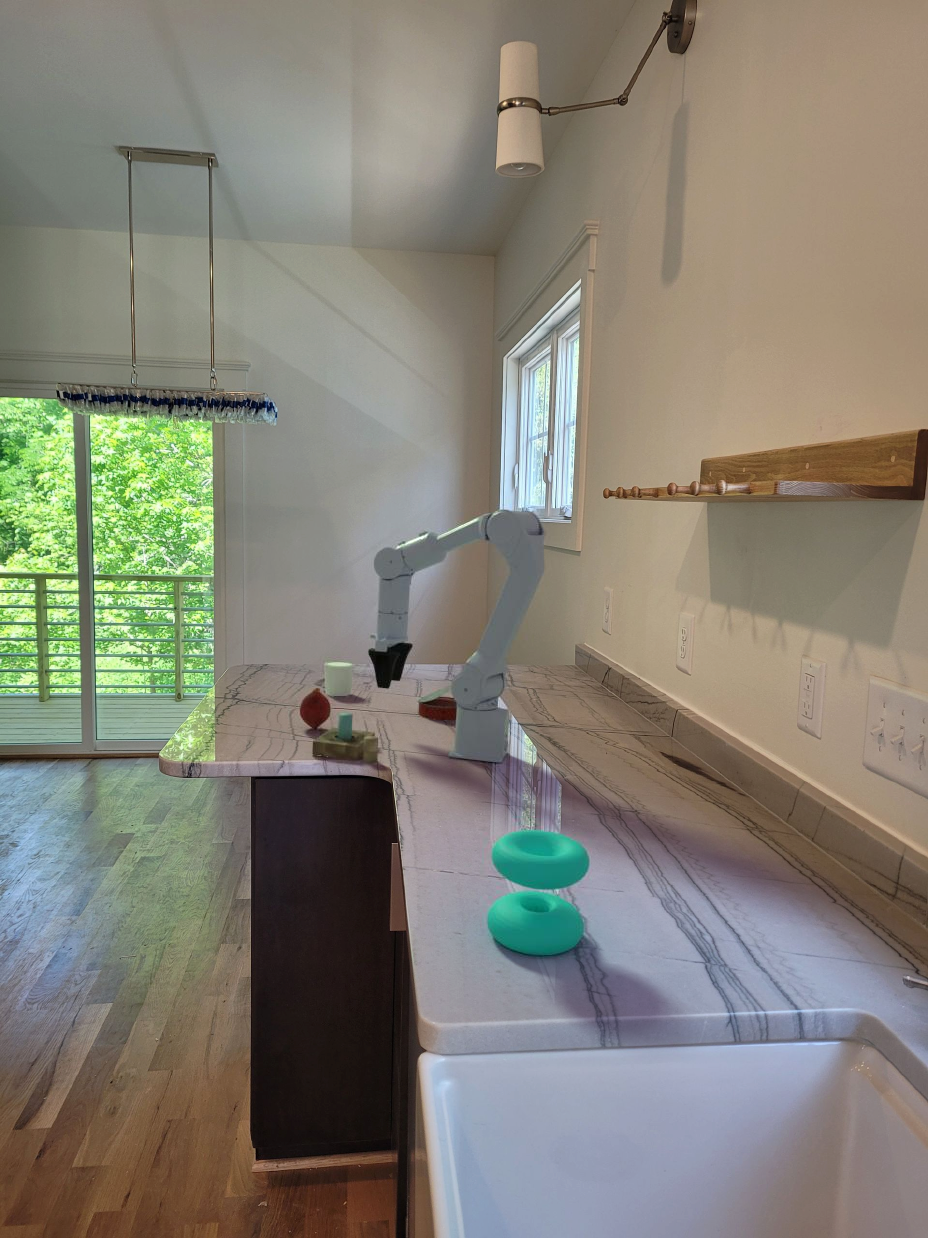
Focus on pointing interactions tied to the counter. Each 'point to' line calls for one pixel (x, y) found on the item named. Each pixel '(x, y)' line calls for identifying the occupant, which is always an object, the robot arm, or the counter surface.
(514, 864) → the donuts
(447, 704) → the canned food
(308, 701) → the onion
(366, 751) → the short dowel
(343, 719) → the long dowel
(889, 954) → the counter surface
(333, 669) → the white short cylinder
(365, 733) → the board
